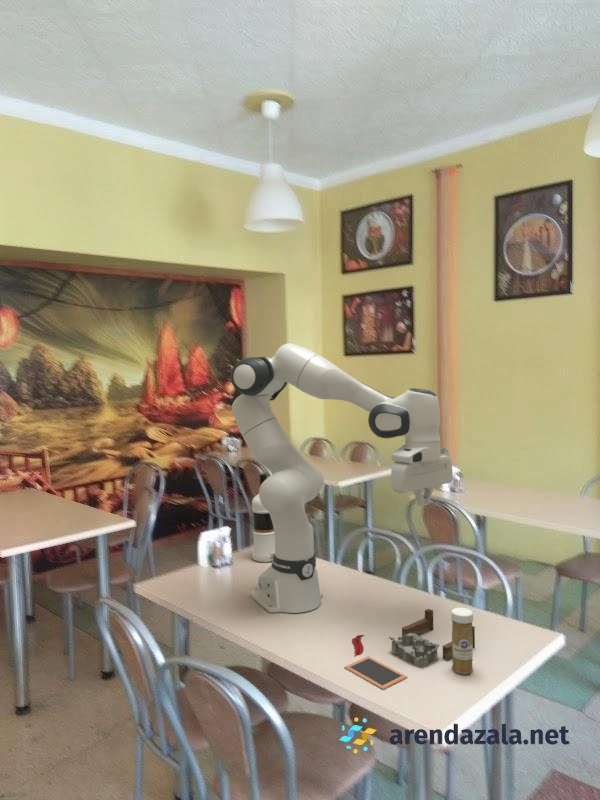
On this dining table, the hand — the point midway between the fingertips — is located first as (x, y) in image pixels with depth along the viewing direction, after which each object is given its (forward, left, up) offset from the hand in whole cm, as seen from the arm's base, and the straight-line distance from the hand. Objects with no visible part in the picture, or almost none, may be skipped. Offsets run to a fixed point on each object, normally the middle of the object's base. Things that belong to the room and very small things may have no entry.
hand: (423, 504), depth 158 cm
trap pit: (+10, -28, -31) cm, 43 cm away
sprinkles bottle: (+22, -13, -31) cm, 40 cm away
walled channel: (+10, -7, -31) cm, 33 cm away
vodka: (-70, -2, -31) cm, 77 cm away
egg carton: (+10, -16, -32) cm, 37 cm away
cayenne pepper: (-2, -22, -32) cm, 39 cm away
